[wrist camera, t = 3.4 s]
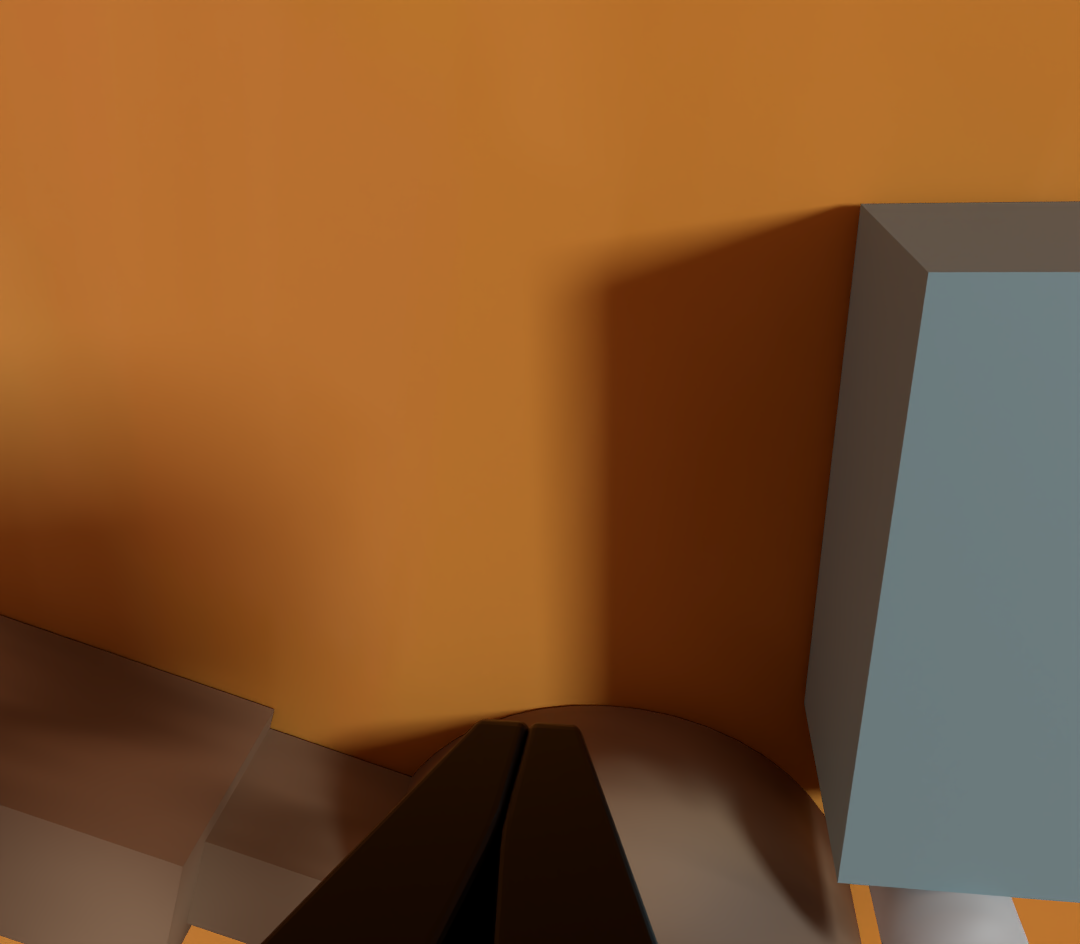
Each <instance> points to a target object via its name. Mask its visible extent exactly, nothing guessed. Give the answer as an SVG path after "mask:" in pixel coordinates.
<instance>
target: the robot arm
mask: <svg viewBox="0 0 1080 944" xmlns="http://www.w3.org/2000/svg"><path fill="white" fill-rule="evenodd" d="M261 944H658V942H657V940H656V937H655V934H654V931H653V928H652V926H651V923H650V920H649V917H648V915H647V912H646V909H645V906H644V904H643V901H642V898H641V895H640V892H639V890H638V887H637V884H636V881H635V879H634V876H633V873H632V870H631V867H630V865H629V862H628V859H627V856H626V854H625V851H624V848H623V845H622V843H621V840H620V837H619V834H618V831H617V829H616V826H615V823H614V820H613V818H612V815H611V812H610V809H609V806H608V804H607V801H606V798H605V795H604V793H603V790H602V787H601V784H600V782H599V779H598V776H597V773H596V770H595V768H594V765H593V762H592V759H591V757H590V754H589V751H588V748H587V745H586V743H585V740H584V737H583V734H582V732H581V730H580V729H579V728H578V727H577V726H575V725H572V724H558V723H542V722H537V723H534V724H533V725H532V726H531V727H530V728H528V726H527V724H525V723H524V722H522V721H511V720H496V719H483V720H481V721H479V722H477V723H476V724H475V725H474V726H473V727H472V728H471V729H470V730H469V731H468V732H467V733H466V734H465V735H464V736H463V737H462V738H461V739H460V740H459V741H458V742H457V743H456V744H455V745H454V746H453V747H452V748H451V749H450V750H449V751H448V752H447V753H446V754H445V755H444V756H443V757H442V758H441V759H440V761H439V762H438V763H437V764H436V765H435V766H434V767H433V768H432V769H431V770H430V771H429V772H428V773H427V774H426V775H425V776H424V777H423V778H422V779H421V780H420V781H419V782H418V783H417V784H416V785H415V786H414V787H413V788H412V789H411V790H410V791H409V792H408V793H407V794H406V795H405V796H404V797H403V798H402V799H401V800H400V801H399V803H398V804H397V805H396V806H395V807H394V808H393V809H392V810H391V811H390V812H389V813H388V814H387V815H386V816H385V817H384V818H383V819H382V820H381V821H380V822H379V823H378V824H377V825H376V826H375V827H374V828H373V829H372V830H371V831H370V832H369V833H368V834H367V835H366V836H365V837H364V838H363V839H362V840H361V841H360V842H359V843H358V845H357V846H356V847H355V848H354V849H353V850H352V851H351V852H350V853H349V854H348V855H347V856H346V857H345V858H344V859H343V860H342V861H341V862H340V863H339V864H338V865H337V866H336V867H335V868H334V869H333V870H332V871H331V872H330V873H329V874H328V875H327V876H326V877H325V878H324V879H323V880H322V881H321V882H320V883H319V884H318V885H317V887H316V888H315V889H314V890H313V891H312V892H311V893H310V894H309V895H308V896H307V897H306V898H305V899H304V900H303V901H302V902H301V903H300V904H299V905H298V906H297V907H296V908H295V909H294V910H293V911H292V912H291V913H290V914H289V915H288V916H287V917H286V918H285V919H284V920H283V921H282V922H281V923H280V924H279V925H278V926H277V927H276V929H275V930H274V931H273V932H272V933H271V934H270V935H269V936H268V937H267V938H266V939H265V940H264V941H263V942H262V943H261Z"/></svg>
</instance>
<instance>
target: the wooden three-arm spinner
mask: <svg viewBox="0 0 1080 944" xmlns="http://www.w3.org/2000/svg"><path fill="white" fill-rule="evenodd" d="M273 713H274V709H271V708H269V707H266V706H263V705H260V704H257V703H254V702H251V701H248V700H245V699H242V698H239V697H237V696H234V695H231V694H228V693H225V692H222V691H219V690H216V689H213V688H210V687H208V686H205V685H202V684H199V683H196V682H193V681H190V680H187V679H184V678H181V677H178V676H176V675H173V674H170V673H167V672H164V671H161V670H158V669H155V668H152V667H149V666H146V665H144V664H141V663H138V662H135V661H132V660H129V659H126V658H123V657H120V656H117V655H114V654H112V653H109V652H106V651H103V650H100V649H97V648H94V647H91V646H88V645H85V644H83V643H80V642H77V641H74V640H71V639H68V638H65V637H62V636H59V635H56V634H53V633H51V632H48V631H45V630H42V629H39V628H36V627H33V626H30V625H27V624H24V623H21V622H19V621H16V620H13V619H10V618H7V617H4V616H1V615H0V936H3V937H6V938H9V939H12V940H15V941H18V942H21V943H24V944H182V942H183V940H184V938H185V936H186V934H187V933H188V931H189V929H190V927H191V925H193V926H196V927H199V928H202V929H205V930H208V931H211V932H214V933H217V934H220V935H223V936H226V937H229V938H232V939H235V940H238V941H241V942H244V943H247V944H261V943H262V942H263V941H264V940H265V939H266V938H267V937H268V936H269V935H270V934H271V933H272V932H273V931H274V930H275V929H276V927H277V926H278V925H279V924H280V923H281V922H282V921H283V920H284V919H285V918H286V917H287V916H288V915H289V914H290V913H291V912H292V911H293V910H294V909H295V908H296V907H297V906H298V905H299V904H300V903H301V902H302V901H303V900H304V899H305V898H306V897H307V896H308V895H309V894H310V893H311V892H312V891H313V890H314V889H315V888H316V887H317V885H318V884H319V883H320V882H321V881H322V880H323V879H324V878H325V877H326V876H327V875H328V874H329V873H330V872H331V871H332V870H333V869H334V868H335V867H336V866H337V865H338V864H339V863H340V862H341V861H342V860H343V859H344V858H345V857H346V856H347V855H348V854H349V853H350V852H351V851H352V850H353V849H354V848H355V847H356V846H357V845H358V843H359V842H360V841H361V840H362V839H363V838H364V837H365V836H366V835H367V834H368V833H369V832H370V831H371V830H372V829H373V828H374V827H375V826H376V825H377V824H378V823H379V822H380V821H381V820H382V819H383V818H384V817H385V816H386V815H387V814H388V813H389V812H390V811H391V810H392V809H393V808H394V807H395V806H396V805H397V804H398V803H399V801H400V800H401V799H402V798H403V797H404V796H405V795H406V794H407V793H408V792H409V791H410V790H411V789H412V788H413V787H414V786H415V785H416V784H417V783H418V782H419V781H420V780H421V779H422V778H423V777H424V776H425V775H426V774H427V773H428V772H429V771H430V770H431V769H432V768H433V767H434V766H435V765H436V764H437V763H438V762H439V761H440V759H441V758H442V757H443V756H444V755H445V754H446V753H447V752H448V751H449V750H450V749H451V748H452V747H453V746H454V745H455V744H456V743H457V742H458V741H459V740H460V739H461V738H462V737H463V736H464V735H463V736H461V737H459V738H457V739H455V740H454V741H452V742H451V743H450V744H448V745H447V746H445V747H444V748H442V749H441V750H439V751H438V752H436V753H435V754H434V755H433V756H432V757H431V758H430V759H429V760H428V761H427V762H426V763H425V764H423V765H422V766H421V767H420V768H419V769H418V770H417V772H416V773H415V774H414V775H413V777H409V776H406V775H404V774H401V773H398V772H395V771H392V770H389V769H386V768H383V767H380V766H377V765H374V764H372V763H369V762H366V761H363V760H360V759H357V758H354V757H351V756H348V755H345V754H342V753H339V752H337V751H334V750H331V749H328V748H325V747H322V746H319V745H316V744H313V743H310V742H307V741H305V740H302V739H299V738H296V737H293V736H290V735H287V734H284V733H281V732H278V731H275V730H273V729H270V725H271V721H272V717H273ZM500 720H511V721H522V722H524V723H525V724H527V726H528V728H530V727H531V726H532V725H533V724H534V723H537V722H542V723H558V724H572V725H575V726H577V727H578V728H579V729H580V730H581V732H582V734H583V737H584V740H585V743H586V745H587V748H588V751H589V754H590V757H591V759H592V762H593V765H594V768H595V770H596V773H597V776H598V779H599V782H600V784H601V787H602V790H603V793H604V795H605V798H606V801H607V804H608V806H609V809H610V812H611V815H612V818H613V820H614V823H615V826H616V829H617V831H618V834H619V837H620V840H621V843H622V845H623V848H624V851H625V854H626V856H627V859H628V862H629V865H630V867H631V870H632V873H633V876H634V879H635V881H636V884H637V887H638V890H639V892H640V895H641V898H642V901H643V904H644V906H645V909H646V912H647V915H648V917H649V920H650V923H651V926H652V928H653V931H654V934H655V937H656V940H657V942H658V944H861V939H860V934H859V929H858V924H857V919H856V914H855V909H854V904H853V899H852V894H851V889H850V884H847V883H838V882H837V877H836V871H835V866H834V861H833V855H832V850H831V845H830V839H829V834H828V828H827V823H826V818H825V816H824V814H823V813H822V812H821V810H820V809H819V808H818V806H817V805H816V804H815V802H814V801H813V800H812V799H811V797H810V796H809V795H808V794H807V793H806V792H805V791H804V790H803V789H802V788H801V787H800V786H799V785H798V784H797V783H796V782H795V781H794V780H793V779H792V778H791V777H790V776H789V775H788V774H787V773H785V772H784V771H783V770H781V769H780V768H779V767H777V766H776V765H775V764H774V763H772V762H771V761H770V760H768V759H767V758H766V757H764V756H763V755H761V754H759V753H758V752H756V751H754V750H752V749H751V748H749V747H747V746H746V745H744V744H742V743H740V742H739V741H737V740H735V739H733V738H731V737H728V736H726V735H724V734H722V733H719V732H717V731H715V730H712V729H710V728H708V727H706V726H702V725H699V724H696V723H693V722H690V721H687V720H684V719H681V718H678V717H674V716H670V715H665V714H660V713H656V712H651V711H646V710H641V709H633V708H623V707H614V706H566V707H556V708H547V709H539V710H535V711H530V712H526V713H521V714H517V715H512V716H509V717H506V718H503V719H500Z"/></svg>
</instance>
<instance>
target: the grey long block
mask: <svg viewBox="0 0 1080 944" xmlns="http://www.w3.org/2000/svg"><path fill="white" fill-rule="evenodd" d="M804 705H805V711H806V716H807V721H808V727H809V732H810V737H811V743H812V748H813V753H814V759H815V764H816V770H817V775H818V780H819V786H820V791H821V796H822V802H823V807H824V812H825V818H826V823H827V828H828V834H829V839H830V845H831V850H832V855H833V861H834V866H835V871H836V877H837V882H838V883H847V884H859V885H869V888H870V892H871V897H872V901H873V906H874V910H875V915H876V919H877V924H878V928H879V933H880V937H881V942H882V944H1029V943H1028V940H1027V938H1026V935H1025V932H1024V930H1023V927H1022V925H1021V922H1020V919H1019V917H1018V914H1017V911H1016V909H1015V906H1014V904H1013V901H1012V898H1011V897H1017V898H1029V899H1041V900H1053V901H1065V902H1078V903H1080V202H993V203H900V204H861V207H860V215H859V224H858V233H857V242H856V251H855V259H854V268H853V277H852V286H851V295H850V304H849V312H848V321H847V330H846V339H845V348H844V356H843V365H842V374H841V383H840V392H839V401H838V409H837V418H836V427H835V436H834V445H833V454H832V462H831V471H830V480H829V489H828V498H827V506H826V515H825V524H824V533H823V542H822V551H821V559H820V568H819V577H818V586H817V595H816V603H815V612H814V621H813V630H812V639H811V648H810V656H809V665H808V674H807V683H806V692H805V700H804Z"/></svg>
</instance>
